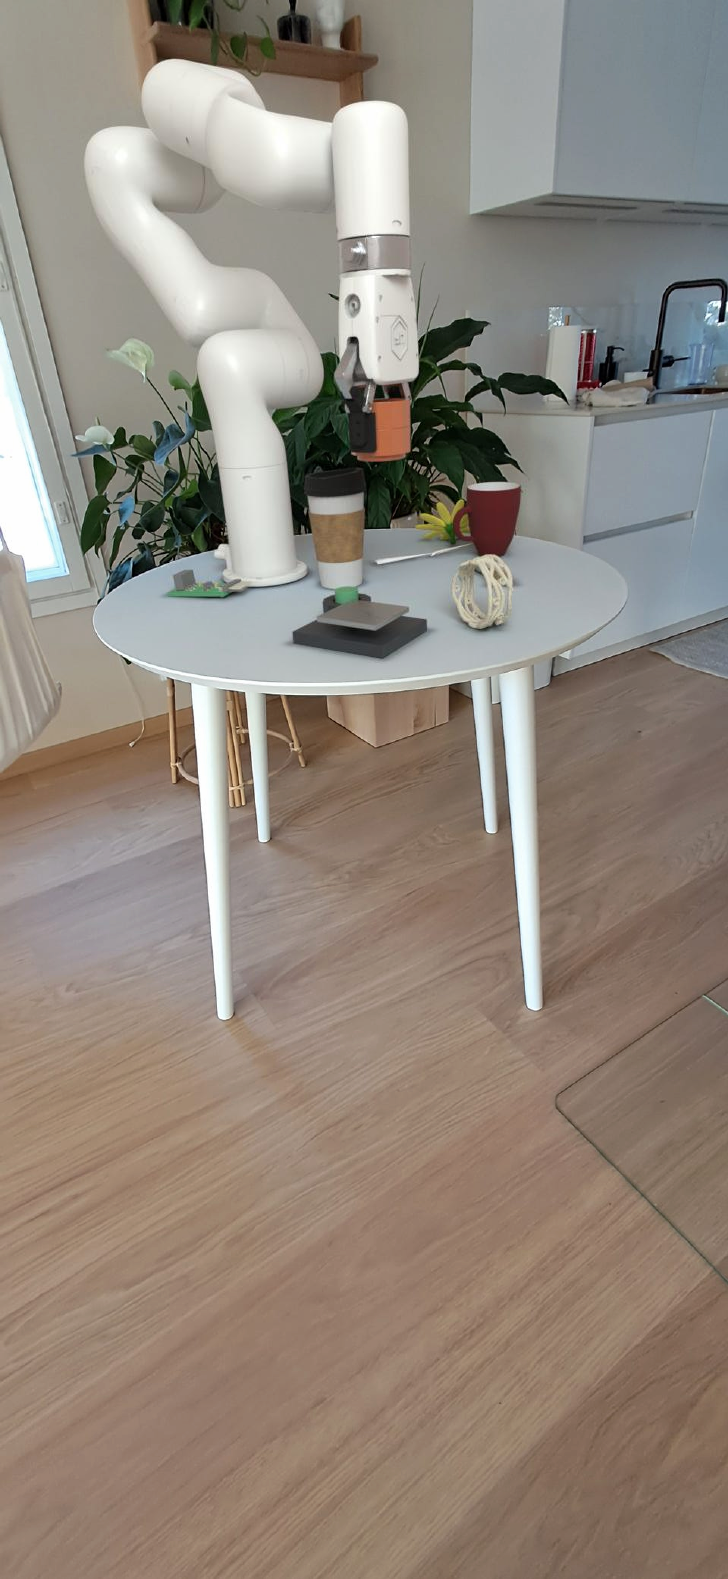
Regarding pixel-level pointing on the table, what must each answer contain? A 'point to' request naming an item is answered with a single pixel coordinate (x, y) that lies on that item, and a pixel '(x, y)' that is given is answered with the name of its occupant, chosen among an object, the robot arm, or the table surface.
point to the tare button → (346, 594)
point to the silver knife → (388, 560)
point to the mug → (490, 516)
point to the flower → (444, 523)
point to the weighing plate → (363, 614)
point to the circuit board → (203, 586)
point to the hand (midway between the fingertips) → (380, 446)
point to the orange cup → (390, 430)
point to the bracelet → (491, 582)
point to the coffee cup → (337, 524)
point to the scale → (360, 634)
